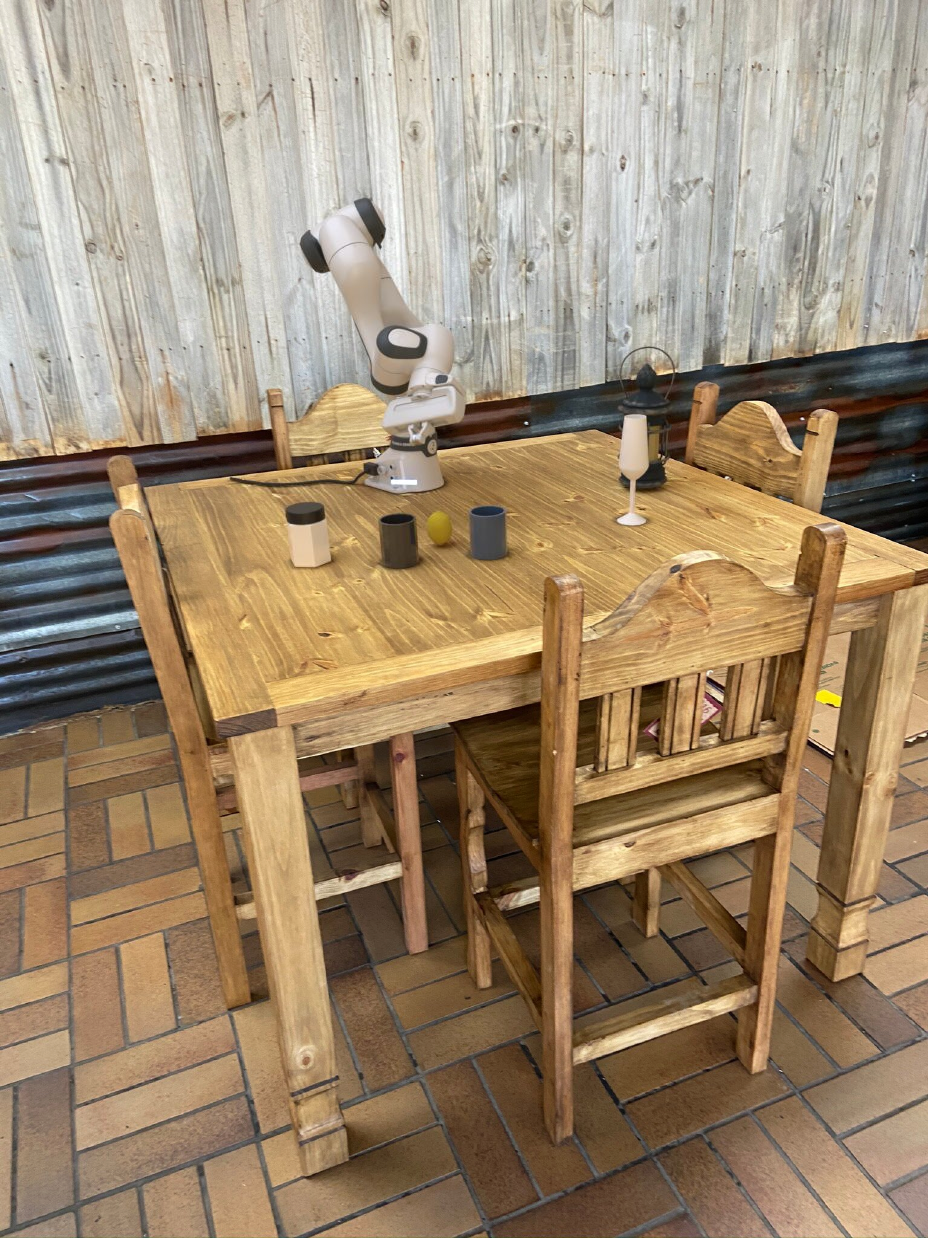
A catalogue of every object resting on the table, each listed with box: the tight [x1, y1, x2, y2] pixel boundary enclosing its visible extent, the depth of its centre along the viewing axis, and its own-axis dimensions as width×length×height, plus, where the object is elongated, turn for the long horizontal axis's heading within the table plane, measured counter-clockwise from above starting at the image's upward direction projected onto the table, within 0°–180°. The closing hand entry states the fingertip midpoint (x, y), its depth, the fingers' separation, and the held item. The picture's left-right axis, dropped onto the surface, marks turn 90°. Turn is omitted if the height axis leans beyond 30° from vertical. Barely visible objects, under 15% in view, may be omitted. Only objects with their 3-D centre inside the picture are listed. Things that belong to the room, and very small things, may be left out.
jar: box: [284, 501, 332, 568], centre depth 188 cm, size 9×8×12 cm
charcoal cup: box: [377, 512, 420, 569], centre depth 185 cm, size 8×8×10 cm
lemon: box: [426, 510, 453, 546], centre depth 194 cm, size 6×6×8 cm
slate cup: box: [468, 504, 508, 561], centre depth 187 cm, size 8×8×10 cm
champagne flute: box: [616, 414, 649, 526], centre depth 200 cm, size 7×7×24 cm
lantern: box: [617, 345, 676, 491], centre depth 222 cm, size 14×13×35 cm
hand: (416, 443), depth 195 cm, fingers closed
